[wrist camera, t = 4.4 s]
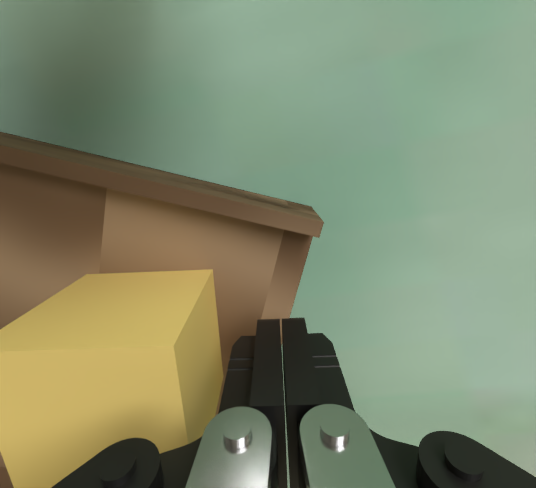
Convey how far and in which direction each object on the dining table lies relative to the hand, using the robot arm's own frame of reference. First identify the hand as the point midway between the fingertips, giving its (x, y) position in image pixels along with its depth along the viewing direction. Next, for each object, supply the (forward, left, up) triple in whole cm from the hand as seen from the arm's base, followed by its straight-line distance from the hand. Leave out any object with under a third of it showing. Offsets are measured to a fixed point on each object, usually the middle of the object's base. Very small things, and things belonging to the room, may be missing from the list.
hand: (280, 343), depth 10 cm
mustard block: (+1, -4, -2) cm, 5 cm away
